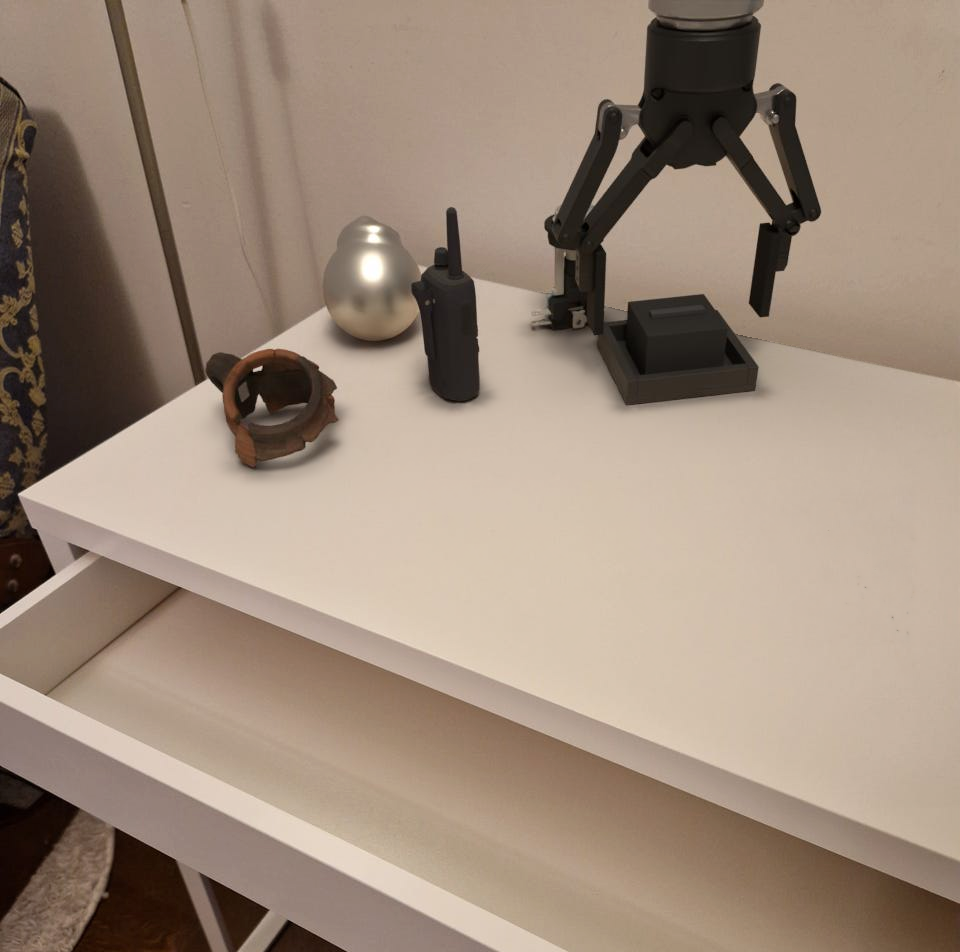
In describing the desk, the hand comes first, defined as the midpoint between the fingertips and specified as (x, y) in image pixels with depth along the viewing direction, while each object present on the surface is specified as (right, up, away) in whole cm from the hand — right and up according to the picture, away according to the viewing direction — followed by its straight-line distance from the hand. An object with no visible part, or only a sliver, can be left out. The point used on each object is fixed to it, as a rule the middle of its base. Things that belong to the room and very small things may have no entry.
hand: (677, 319), depth 81 cm
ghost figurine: (-25, +2, +10) cm, 27 cm away
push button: (-8, +3, +10) cm, 13 cm away
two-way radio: (-19, -6, +2) cm, 20 cm away
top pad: (0, -3, +3) cm, 4 cm away
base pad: (0, -3, +3) cm, 4 cm away
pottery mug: (-32, -10, -2) cm, 34 cm away
